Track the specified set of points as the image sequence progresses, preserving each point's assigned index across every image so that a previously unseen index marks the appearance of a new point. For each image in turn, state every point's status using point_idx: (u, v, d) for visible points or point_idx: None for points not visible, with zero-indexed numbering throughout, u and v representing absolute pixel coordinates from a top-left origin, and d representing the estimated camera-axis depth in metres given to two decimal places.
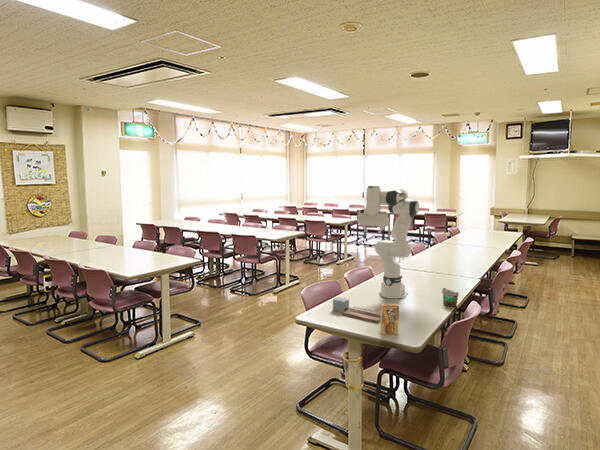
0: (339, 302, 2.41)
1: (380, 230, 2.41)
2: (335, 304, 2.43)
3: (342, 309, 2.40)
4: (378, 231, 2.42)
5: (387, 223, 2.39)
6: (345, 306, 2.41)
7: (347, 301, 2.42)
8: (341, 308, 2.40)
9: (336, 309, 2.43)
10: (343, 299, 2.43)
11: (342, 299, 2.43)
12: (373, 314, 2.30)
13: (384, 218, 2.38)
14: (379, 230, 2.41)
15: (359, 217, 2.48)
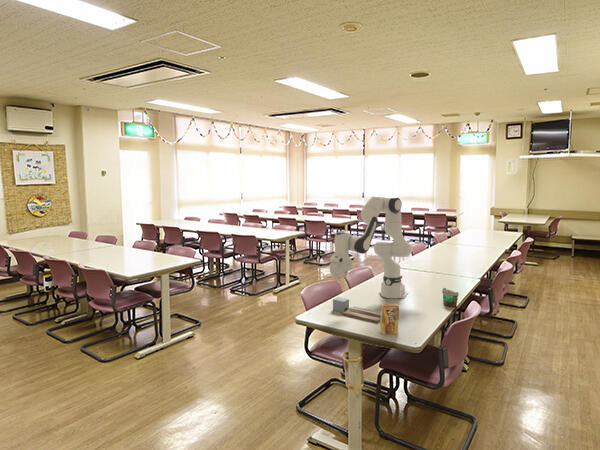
0: (339, 302, 2.41)
1: (346, 274, 2.46)
2: (335, 304, 2.43)
3: (342, 309, 2.40)
4: (346, 276, 2.45)
5: None
6: (345, 306, 2.41)
7: (347, 301, 2.42)
8: (341, 308, 2.40)
9: (336, 309, 2.43)
10: (343, 299, 2.43)
11: (342, 299, 2.43)
12: (373, 314, 2.30)
13: (351, 262, 2.47)
14: (346, 274, 2.45)
15: (337, 267, 2.33)
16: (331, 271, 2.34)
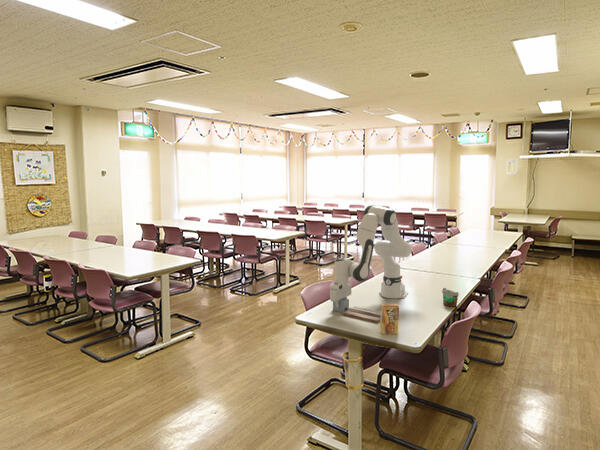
0: (339, 302, 2.41)
1: None
2: (335, 304, 2.43)
3: (342, 309, 2.40)
4: None
5: None
6: (345, 306, 2.41)
7: (347, 301, 2.42)
8: (341, 308, 2.40)
9: (336, 309, 2.43)
10: (343, 299, 2.43)
11: (342, 299, 2.43)
12: (373, 314, 2.30)
13: (350, 287, 2.49)
14: None
15: (336, 294, 2.35)
16: (331, 298, 2.36)
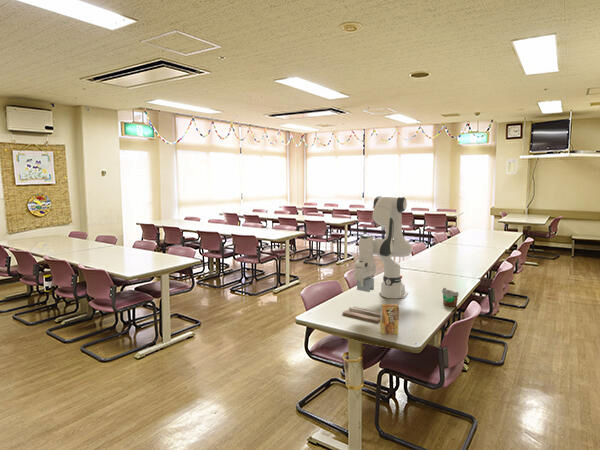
0: (364, 281, 2.29)
1: None
2: (359, 283, 2.31)
3: (367, 288, 2.28)
4: None
5: None
6: (370, 285, 2.29)
7: (372, 280, 2.30)
8: (366, 287, 2.28)
9: (360, 289, 2.31)
10: (368, 278, 2.31)
11: (367, 278, 2.31)
12: (373, 314, 2.30)
13: (375, 266, 2.37)
14: None
15: (362, 272, 2.23)
16: (356, 276, 2.24)
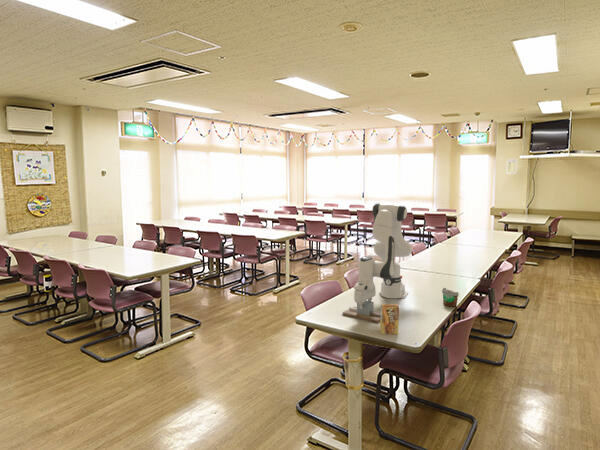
0: (364, 305, 2.30)
1: None
2: None
3: (367, 312, 2.30)
4: None
5: None
6: (370, 309, 2.30)
7: (372, 304, 2.32)
8: (366, 311, 2.30)
9: (360, 312, 2.32)
10: (368, 302, 2.33)
11: (366, 302, 2.33)
12: (373, 314, 2.30)
13: (374, 288, 2.38)
14: None
15: (361, 295, 2.25)
16: (356, 299, 2.25)
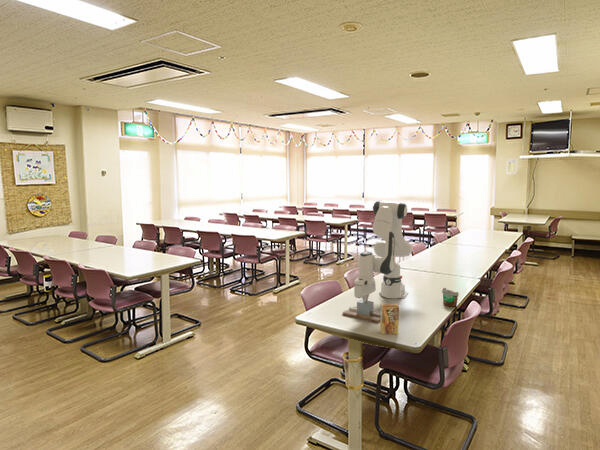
0: (364, 305, 2.30)
1: (367, 298, 2.34)
2: (359, 307, 2.32)
3: (367, 312, 2.30)
4: (367, 299, 2.33)
5: None
6: (370, 309, 2.30)
7: (372, 304, 2.32)
8: (366, 311, 2.30)
9: (360, 312, 2.32)
10: (367, 302, 2.33)
11: (366, 302, 2.33)
12: (373, 314, 2.30)
13: None
14: (367, 298, 2.33)
15: (361, 290, 2.24)
16: (356, 294, 2.25)
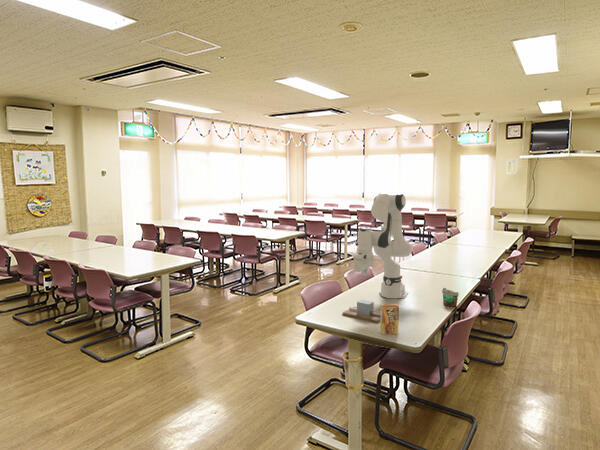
0: (364, 305, 2.30)
1: None
2: (359, 307, 2.32)
3: (367, 312, 2.30)
4: (366, 273, 2.39)
5: None
6: (370, 309, 2.30)
7: (372, 304, 2.32)
8: (366, 311, 2.30)
9: (360, 312, 2.32)
10: (368, 302, 2.33)
11: (366, 302, 2.33)
12: (373, 314, 2.30)
13: (373, 257, 2.44)
14: (366, 272, 2.39)
15: (361, 264, 2.30)
16: (355, 268, 2.31)
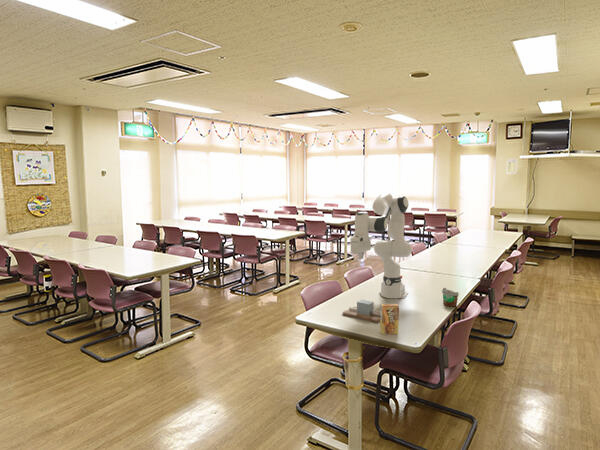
0: (364, 305, 2.30)
1: (363, 255, 2.49)
2: (359, 307, 2.32)
3: (367, 312, 2.30)
4: (362, 256, 2.48)
5: None
6: (370, 309, 2.30)
7: (372, 304, 2.32)
8: (366, 311, 2.30)
9: (360, 312, 2.32)
10: (368, 302, 2.33)
11: (366, 302, 2.33)
12: (373, 314, 2.30)
13: (370, 242, 2.53)
14: (363, 255, 2.48)
15: (357, 246, 2.39)
16: (352, 250, 2.40)
